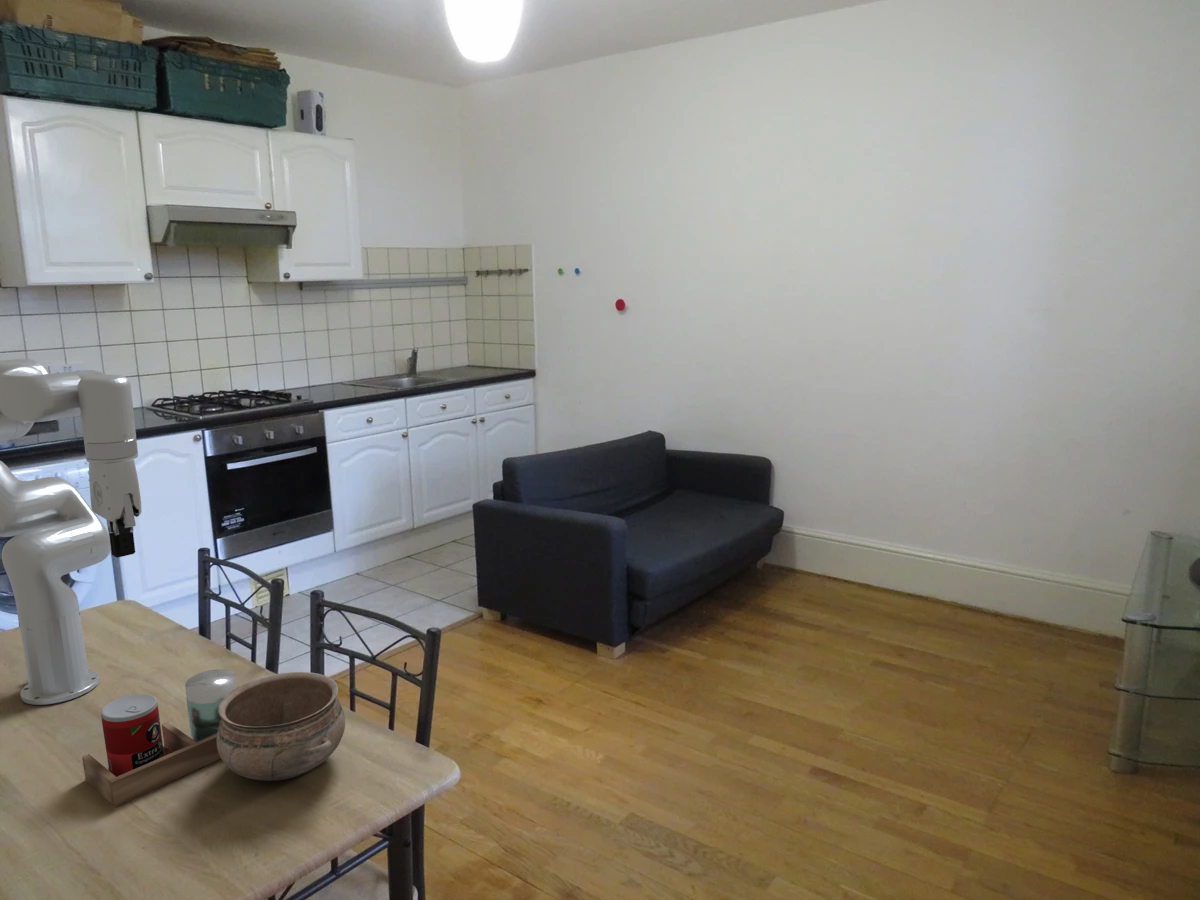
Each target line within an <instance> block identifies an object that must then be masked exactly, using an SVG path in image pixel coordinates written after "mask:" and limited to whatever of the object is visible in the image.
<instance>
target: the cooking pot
mask: <svg viewBox="0 0 1200 900" xmlns="http://www.w3.org/2000/svg"><path fill="white" fill-rule="evenodd" d="M338 693H339V687H338V684H337V682H336V681H335V680H334V679H332V678H331V677H330V676H326V675H324V674H321V673H315V672H311V671H309V672H307V671H294V672H293V671H291V672H282V673H276V674H275V673H274V674H270V675H266V676H263V677H259V678H256V679H254V680H251V681H248V682H246V683H244V684H242V685H240V686H237V688H236V689H235V690H233V691H232V692H230V693H229V694H228V695H227V696H225V697H224V699H223V700H222V701H221V702H220V705H219V707H218V713H219V715H220V717H221V720H220V723H219V727H218V732H217V750H218V752H219V755H220V757H221V759H220V760H221V761H223V763H224V764H225V766H227V768H228V769H230V770H231V771H232V772H233V773H235V774H237V775H238V776H241V777H243V778H246V779H251V780H256V781H268V782H271V781H272V782H273V781H275V782H278V781H279V782H281V781H288V780H292V779H294V778H296V777H299V776H301V775H303V774H306V773H307V772H309V771H312V770H313V769H315V768H316V767H318V766H319V765H321V764H323V762H325V761H326V760H327V759H328V758H329V757H330V756H331V755H332V754H333V753H334V752H335V751H336V750H337V748H338V746H339V744H341V743H340V742H341V741H342V738H343V735H344V733H345V730H346V729H345V728H346V716H345V711H344V709H343V705H342V703H341V701H340V699H339V698H338Z"/></svg>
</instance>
